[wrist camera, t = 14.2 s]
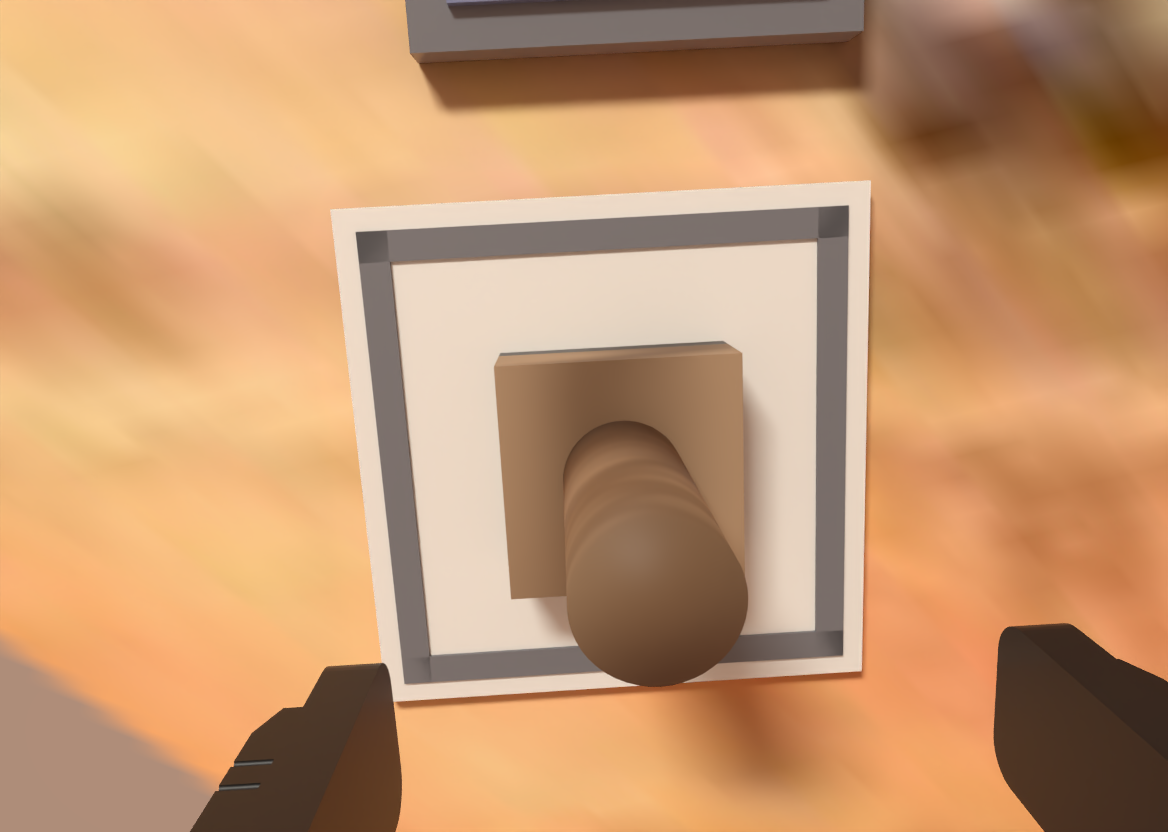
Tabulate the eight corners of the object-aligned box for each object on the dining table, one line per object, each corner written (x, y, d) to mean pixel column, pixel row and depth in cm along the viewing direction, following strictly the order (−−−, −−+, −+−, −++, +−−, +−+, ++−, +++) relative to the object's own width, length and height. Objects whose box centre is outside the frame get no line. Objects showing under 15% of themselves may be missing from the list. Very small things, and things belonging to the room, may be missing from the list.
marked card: (863, 181, 22) (872, 180, 22) (855, 662, 25) (863, 673, 25) (335, 209, 22) (329, 209, 22) (389, 693, 25) (385, 704, 25)
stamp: (723, 340, 23) (840, 416, 13) (726, 550, 24) (835, 754, 15) (500, 353, 23) (460, 437, 13) (515, 563, 24) (488, 777, 14)
